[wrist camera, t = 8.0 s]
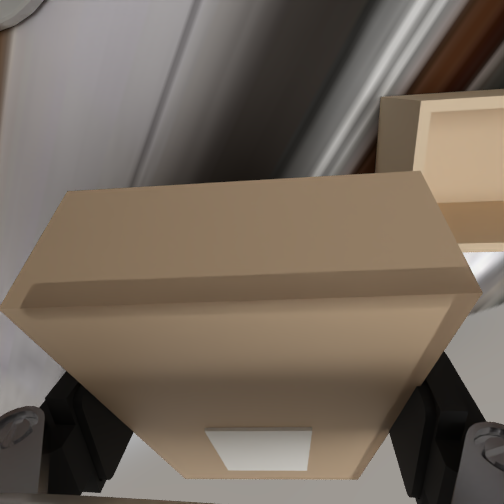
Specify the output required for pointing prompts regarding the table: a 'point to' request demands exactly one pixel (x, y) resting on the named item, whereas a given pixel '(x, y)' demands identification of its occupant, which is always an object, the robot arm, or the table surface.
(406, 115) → the box
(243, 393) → the lid
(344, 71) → the table surface
